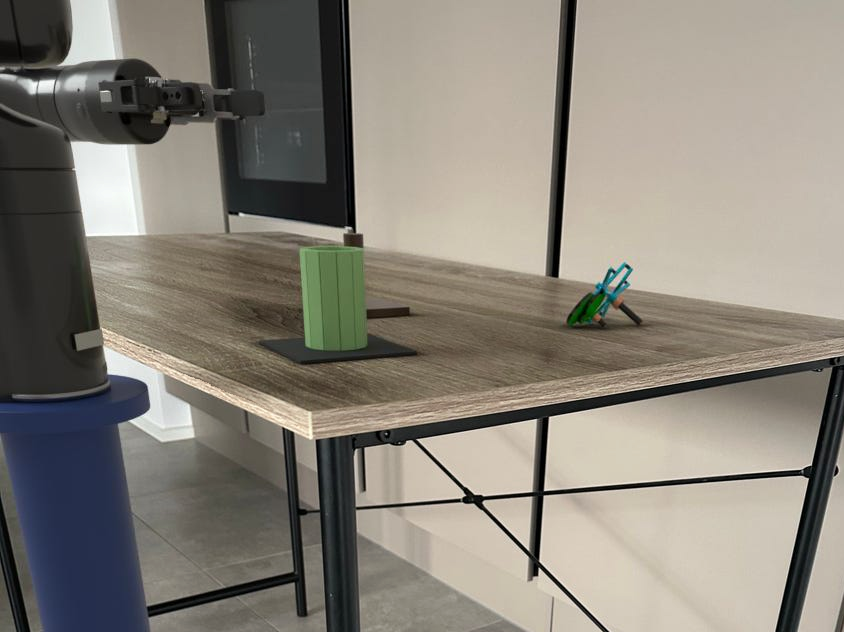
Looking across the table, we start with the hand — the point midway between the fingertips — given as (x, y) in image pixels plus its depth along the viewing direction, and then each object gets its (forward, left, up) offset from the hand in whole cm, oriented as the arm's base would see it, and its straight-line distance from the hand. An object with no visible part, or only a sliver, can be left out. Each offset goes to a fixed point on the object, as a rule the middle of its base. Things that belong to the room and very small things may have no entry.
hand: (231, 99), depth 89 cm
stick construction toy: (+41, -8, -22) cm, 47 cm away
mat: (+6, -10, -22) cm, 24 cm away
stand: (+18, +13, -22) cm, 31 cm away
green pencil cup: (+6, -10, -22) cm, 24 cm away
